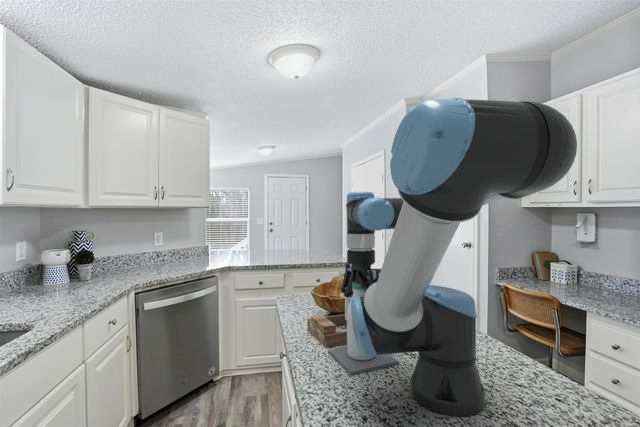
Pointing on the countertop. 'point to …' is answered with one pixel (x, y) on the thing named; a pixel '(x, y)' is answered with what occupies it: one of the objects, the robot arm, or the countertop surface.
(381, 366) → the rubber mat
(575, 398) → the countertop surface
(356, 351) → the milk bottle
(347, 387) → the countertop surface
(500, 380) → the countertop surface
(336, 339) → the frame
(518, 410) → the countertop surface
